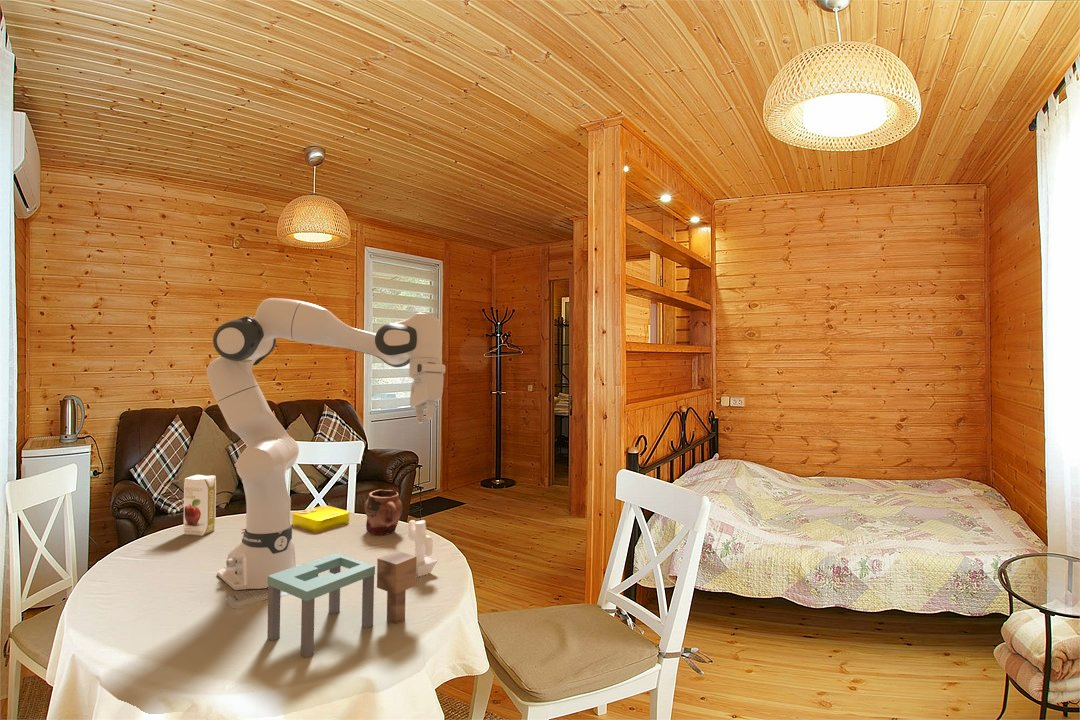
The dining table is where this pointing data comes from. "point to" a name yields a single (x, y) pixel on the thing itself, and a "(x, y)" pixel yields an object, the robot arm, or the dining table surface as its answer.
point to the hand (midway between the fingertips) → (424, 420)
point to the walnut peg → (396, 581)
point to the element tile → (320, 518)
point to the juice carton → (199, 504)
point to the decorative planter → (382, 512)
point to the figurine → (421, 547)
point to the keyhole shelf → (319, 592)
